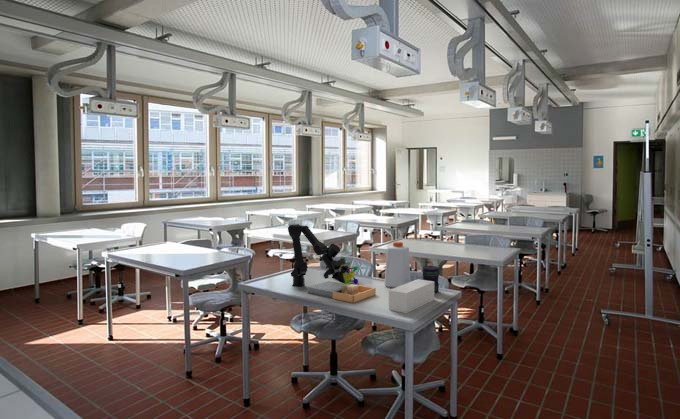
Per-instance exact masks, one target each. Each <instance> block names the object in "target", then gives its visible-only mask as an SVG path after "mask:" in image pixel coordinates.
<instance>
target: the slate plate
mask: <svg viewBox="0 0 680 419" xmlns="http://www.w3.org/2000/svg"><path fill="white" fill-rule="evenodd" d="M343 284H344V283H342V282H339V281H338V282H337V281H331V280H328V281H324V282H321V283H317V284H313V285H309V286H307V293H308V294H312V295H317V296H322V297H326V298H330V297H331V298H332V299H333V291H334V292H339V293H341V285H343ZM331 298H330V299H331Z"/></svg>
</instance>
